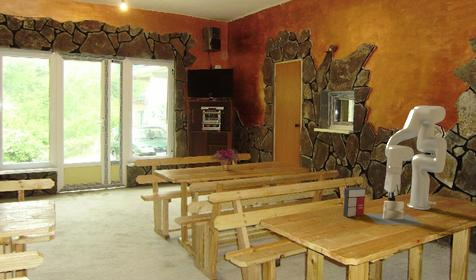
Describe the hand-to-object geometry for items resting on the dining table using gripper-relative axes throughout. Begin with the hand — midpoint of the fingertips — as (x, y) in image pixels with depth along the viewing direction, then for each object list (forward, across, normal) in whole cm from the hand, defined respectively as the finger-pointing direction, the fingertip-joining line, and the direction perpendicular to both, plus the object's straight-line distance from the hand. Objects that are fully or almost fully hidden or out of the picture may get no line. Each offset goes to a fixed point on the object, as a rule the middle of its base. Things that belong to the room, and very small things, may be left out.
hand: (391, 204), depth 219 cm
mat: (+7, +4, 0) cm, 8 cm away
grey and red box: (+8, -2, -19) cm, 20 cm away
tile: (+6, +3, 0) cm, 7 cm away
